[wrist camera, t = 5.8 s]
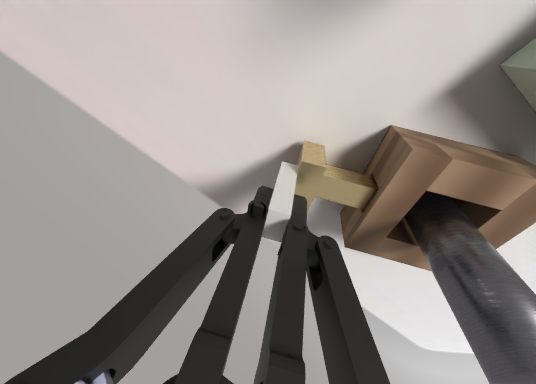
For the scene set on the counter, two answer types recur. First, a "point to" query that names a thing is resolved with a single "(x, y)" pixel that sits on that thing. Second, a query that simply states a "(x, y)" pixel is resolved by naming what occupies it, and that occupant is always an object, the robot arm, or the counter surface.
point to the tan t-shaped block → (331, 180)
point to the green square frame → (523, 71)
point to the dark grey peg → (478, 289)
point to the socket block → (442, 182)
